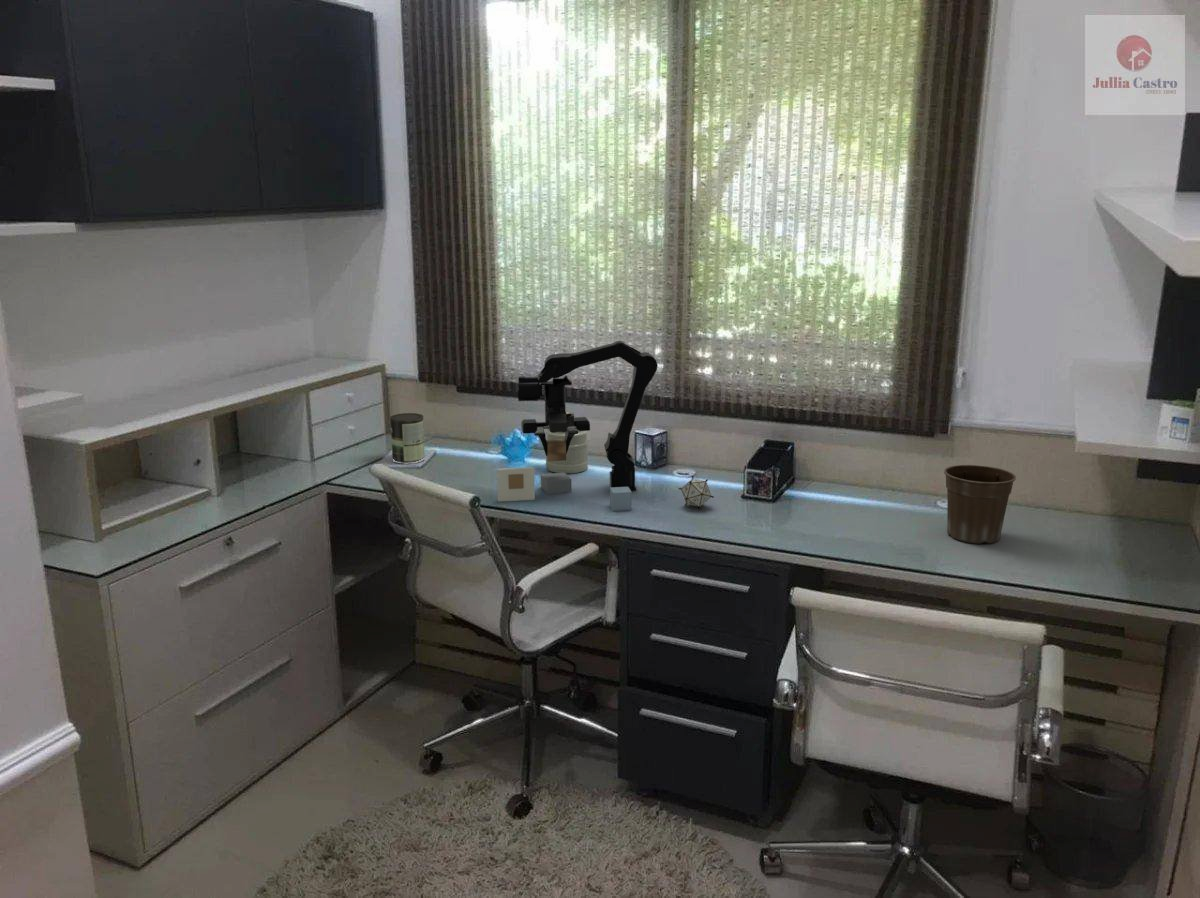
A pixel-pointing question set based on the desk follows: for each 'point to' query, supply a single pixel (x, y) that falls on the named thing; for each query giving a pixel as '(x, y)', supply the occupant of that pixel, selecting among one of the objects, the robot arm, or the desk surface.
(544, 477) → the base block
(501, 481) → the plaque
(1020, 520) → the desk surface
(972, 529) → the plant pot
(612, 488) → the slate blue cube
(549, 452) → the walnut cube
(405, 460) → the coffee can
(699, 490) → the game die
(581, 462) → the jar
